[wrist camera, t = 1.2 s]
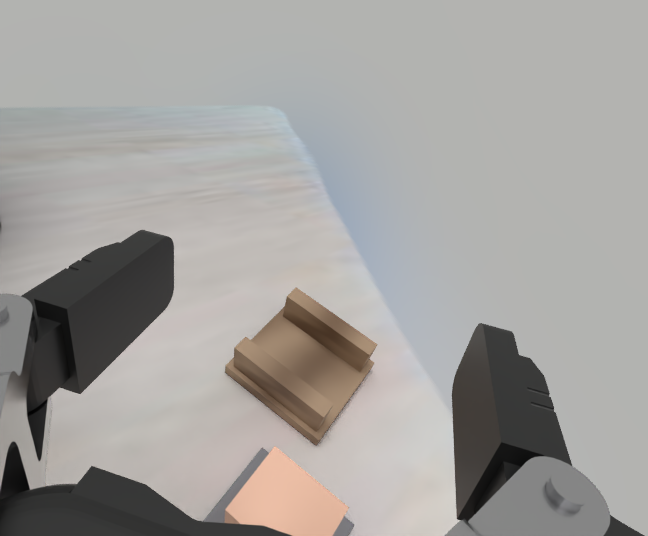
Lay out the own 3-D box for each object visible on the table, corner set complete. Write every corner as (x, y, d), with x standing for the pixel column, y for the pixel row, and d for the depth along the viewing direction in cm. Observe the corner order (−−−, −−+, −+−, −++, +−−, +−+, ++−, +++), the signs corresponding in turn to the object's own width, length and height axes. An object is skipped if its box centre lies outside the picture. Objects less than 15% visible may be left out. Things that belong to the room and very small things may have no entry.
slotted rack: (225, 372, 34) (225, 346, 31) (287, 309, 39) (293, 281, 36) (316, 445, 32) (327, 426, 29) (370, 369, 37) (384, 345, 34)
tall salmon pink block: (223, 540, 27) (225, 509, 19) (260, 491, 29) (274, 445, 21) (279, 593, 26) (304, 582, 18) (313, 538, 28) (349, 507, 20)
